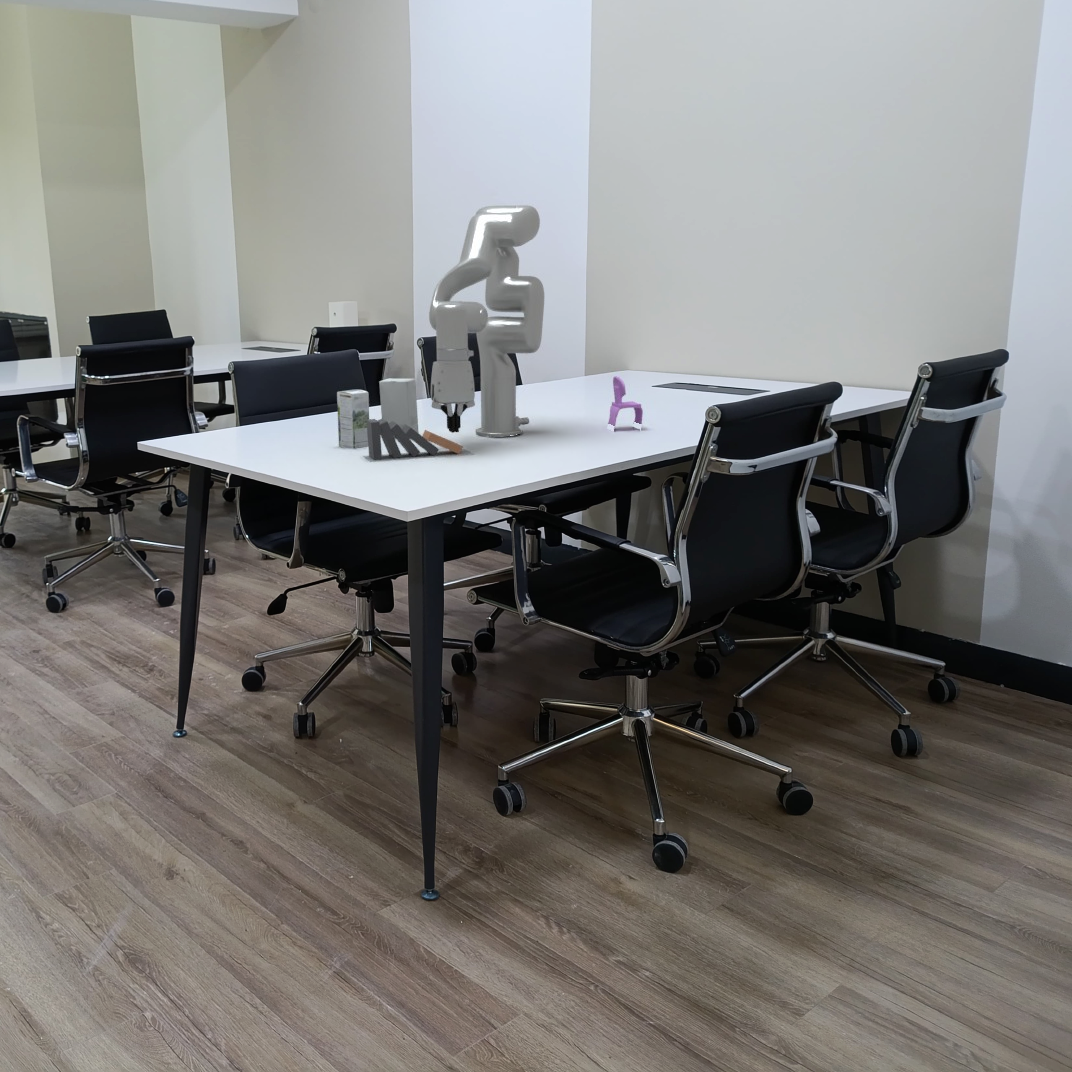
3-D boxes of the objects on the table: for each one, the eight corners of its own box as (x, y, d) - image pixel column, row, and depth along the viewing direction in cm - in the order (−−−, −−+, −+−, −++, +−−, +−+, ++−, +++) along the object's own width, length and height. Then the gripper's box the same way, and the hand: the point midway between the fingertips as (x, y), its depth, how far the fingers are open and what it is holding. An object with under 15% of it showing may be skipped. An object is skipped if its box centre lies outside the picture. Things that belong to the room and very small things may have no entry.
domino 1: (377, 455, 254) (374, 418, 252) (382, 459, 249) (379, 421, 247) (369, 456, 253) (366, 419, 251) (373, 460, 249) (371, 422, 246)
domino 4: (433, 446, 259) (405, 424, 255) (439, 449, 254) (410, 427, 250) (428, 452, 258) (400, 431, 255) (434, 456, 254) (405, 434, 250)
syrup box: (355, 444, 272) (353, 388, 268) (371, 447, 268) (368, 390, 264) (338, 447, 267) (335, 390, 264) (354, 450, 264) (351, 392, 260)
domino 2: (396, 451, 255) (382, 418, 252) (401, 455, 251) (387, 421, 248) (389, 455, 255) (374, 421, 252) (394, 458, 250) (379, 424, 247)
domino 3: (414, 448, 257) (392, 420, 253) (420, 452, 252) (397, 423, 249) (408, 454, 257) (385, 426, 253) (414, 457, 252) (390, 429, 248)
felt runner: (465, 450, 263) (465, 449, 263) (475, 456, 256) (475, 454, 256) (362, 457, 254) (362, 455, 254) (370, 463, 247) (370, 461, 247)
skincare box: (419, 435, 285) (417, 378, 281) (409, 439, 279) (408, 381, 275) (390, 434, 288) (388, 377, 284) (380, 438, 281) (378, 380, 277)
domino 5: (456, 443, 261) (425, 429, 257) (463, 446, 256) (430, 432, 252) (453, 450, 261) (421, 437, 257) (459, 454, 256) (427, 440, 252)
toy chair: (644, 431, 294) (645, 377, 290) (614, 432, 291) (615, 378, 287) (633, 426, 301) (634, 374, 297) (604, 427, 299) (605, 375, 295)
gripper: (476, 353, 258) (477, 427, 263) (418, 355, 253) (420, 431, 258) (486, 356, 252) (487, 432, 256) (426, 358, 246) (428, 435, 251)
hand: (453, 431), depth 257 cm, fingers closed
